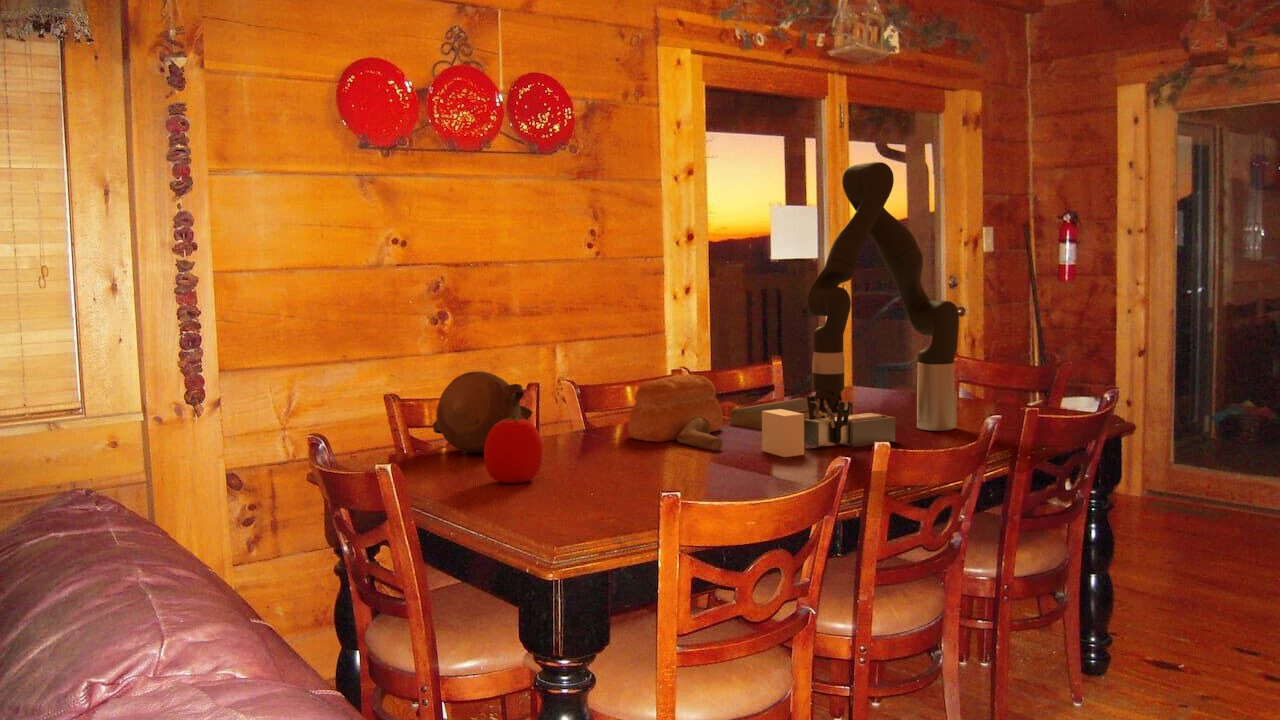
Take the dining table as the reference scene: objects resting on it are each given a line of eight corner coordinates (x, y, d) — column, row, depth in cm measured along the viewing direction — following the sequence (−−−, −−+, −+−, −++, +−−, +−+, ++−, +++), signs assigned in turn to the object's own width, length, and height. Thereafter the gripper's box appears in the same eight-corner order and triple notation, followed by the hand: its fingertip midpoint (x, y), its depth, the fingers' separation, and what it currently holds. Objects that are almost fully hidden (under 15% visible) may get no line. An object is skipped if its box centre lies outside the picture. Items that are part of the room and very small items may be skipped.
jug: (479, 463, 243) (545, 461, 270) (499, 380, 242) (564, 386, 269) (409, 440, 252) (480, 440, 279) (429, 359, 251) (498, 367, 278)
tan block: (781, 448, 255) (781, 409, 254) (804, 454, 247) (803, 413, 246) (762, 450, 252) (761, 411, 251) (784, 457, 244) (784, 416, 243)
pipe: (710, 433, 251) (740, 421, 257) (664, 424, 264) (695, 413, 270) (713, 459, 252) (743, 447, 258) (668, 449, 265) (698, 437, 271)
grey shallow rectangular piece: (800, 413, 309) (800, 396, 308) (852, 420, 295) (852, 402, 294) (730, 426, 290) (729, 407, 290) (782, 434, 276) (782, 415, 276)
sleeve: (875, 437, 267) (875, 413, 266) (895, 441, 260) (895, 417, 260) (833, 442, 261) (834, 418, 260) (852, 447, 254) (853, 422, 254)
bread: (622, 438, 272) (620, 379, 271) (691, 425, 290) (691, 369, 289) (659, 445, 263) (658, 383, 261) (729, 430, 281) (728, 373, 279)
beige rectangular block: (869, 435, 264) (869, 412, 264) (882, 438, 260) (882, 414, 259) (803, 443, 255) (803, 419, 254) (816, 447, 251) (815, 422, 250)
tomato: (493, 490, 216) (490, 421, 215) (478, 479, 227) (476, 413, 225) (552, 483, 221) (550, 416, 220) (535, 473, 232) (533, 408, 230)
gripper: (860, 372, 249) (860, 444, 251) (822, 366, 262) (822, 435, 263) (834, 374, 245) (834, 447, 247) (797, 369, 258) (797, 438, 260)
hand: (828, 440), depth 255 cm, fingers open, 5 cm apart
